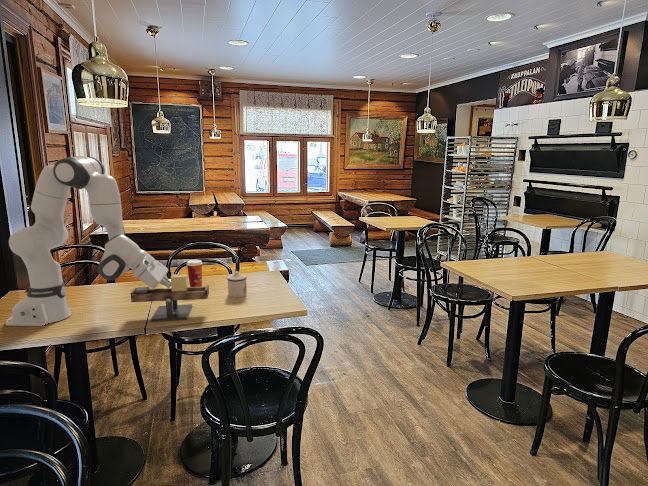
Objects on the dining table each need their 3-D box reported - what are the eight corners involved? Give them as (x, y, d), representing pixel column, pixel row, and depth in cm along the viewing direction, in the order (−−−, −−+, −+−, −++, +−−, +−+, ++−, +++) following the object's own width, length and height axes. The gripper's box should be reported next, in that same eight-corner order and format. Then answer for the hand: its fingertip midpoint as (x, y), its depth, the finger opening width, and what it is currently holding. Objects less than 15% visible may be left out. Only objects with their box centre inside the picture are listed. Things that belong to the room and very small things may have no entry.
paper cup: (199, 290, 208) (197, 263, 205) (185, 289, 209) (183, 262, 206) (206, 286, 215) (205, 259, 212) (193, 285, 217) (191, 259, 214)
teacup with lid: (248, 297, 199) (247, 273, 196) (228, 299, 196) (227, 275, 194) (245, 289, 210) (244, 267, 208) (226, 291, 207) (225, 268, 205)
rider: (171, 295, 174) (170, 277, 172) (173, 292, 178) (172, 274, 176) (186, 295, 175) (185, 276, 173) (188, 291, 179) (187, 273, 177)
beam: (131, 304, 171) (130, 293, 170) (136, 299, 177) (135, 287, 176) (207, 301, 175) (206, 289, 174) (209, 295, 182) (208, 284, 181)
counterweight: (135, 297, 172) (135, 290, 171) (138, 293, 176) (138, 287, 175) (147, 296, 172) (146, 289, 172) (149, 293, 177) (149, 286, 176)
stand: (151, 321, 169) (149, 300, 168) (159, 308, 184) (157, 289, 182) (187, 319, 172) (185, 298, 170) (192, 306, 186) (191, 287, 184)
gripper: (145, 263, 182) (170, 284, 185) (131, 276, 162) (160, 299, 165) (155, 253, 181) (180, 273, 185) (142, 265, 162) (171, 288, 165)
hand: (170, 286), depth 175 cm, fingers closed, pressing on rider
